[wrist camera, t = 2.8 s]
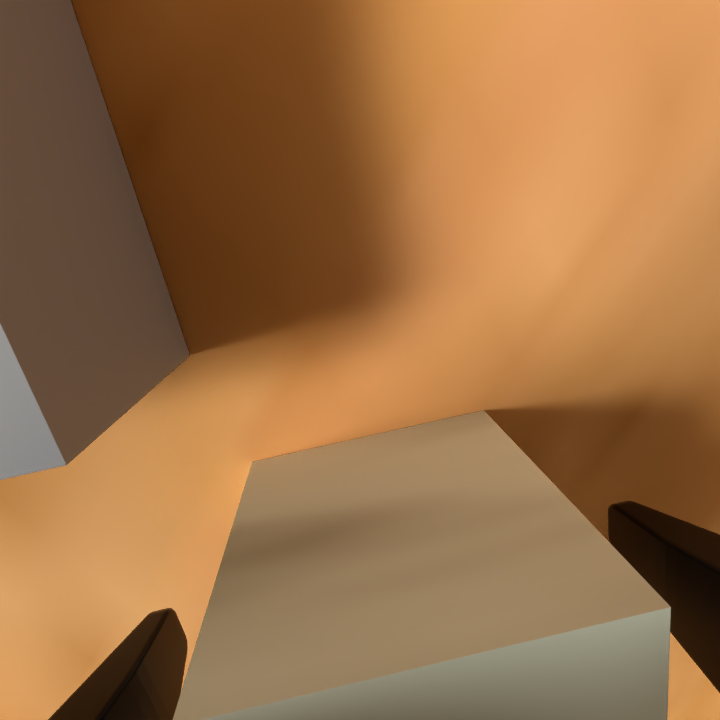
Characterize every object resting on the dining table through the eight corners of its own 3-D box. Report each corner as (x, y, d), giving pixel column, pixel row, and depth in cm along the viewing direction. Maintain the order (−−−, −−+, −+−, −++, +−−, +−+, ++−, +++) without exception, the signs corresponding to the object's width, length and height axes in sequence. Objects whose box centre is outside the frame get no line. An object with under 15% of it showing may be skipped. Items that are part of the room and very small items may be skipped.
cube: (504, 589, 10) (660, 891, 6) (307, 635, 10) (295, 986, 5) (482, 408, 9) (671, 606, 4) (253, 460, 9) (169, 727, 4)
